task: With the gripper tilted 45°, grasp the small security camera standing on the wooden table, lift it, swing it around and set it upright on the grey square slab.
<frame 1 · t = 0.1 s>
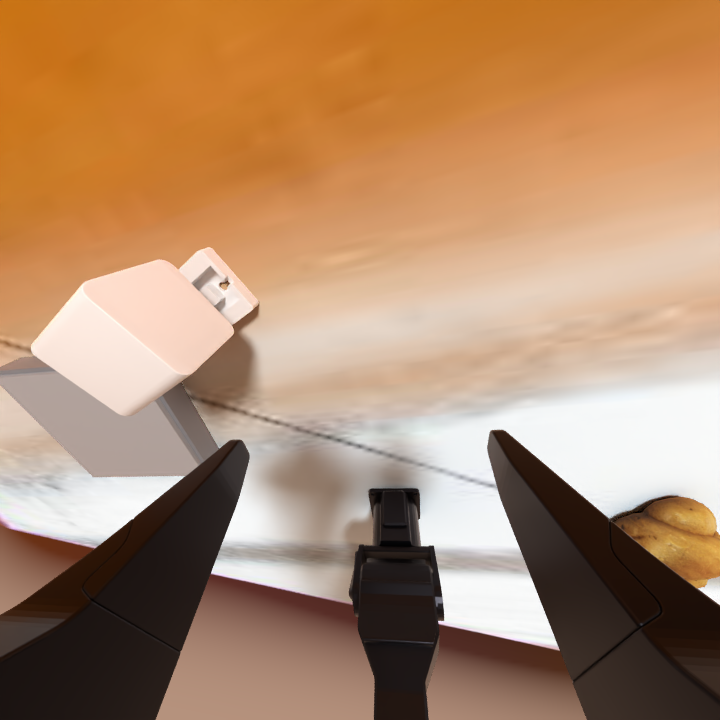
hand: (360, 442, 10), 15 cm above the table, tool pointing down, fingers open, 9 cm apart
bread roll: (645, 516, 35), on the table
grey square slab: (132, 412, 31), on the table
security camera: (210, 297, 23), on the table
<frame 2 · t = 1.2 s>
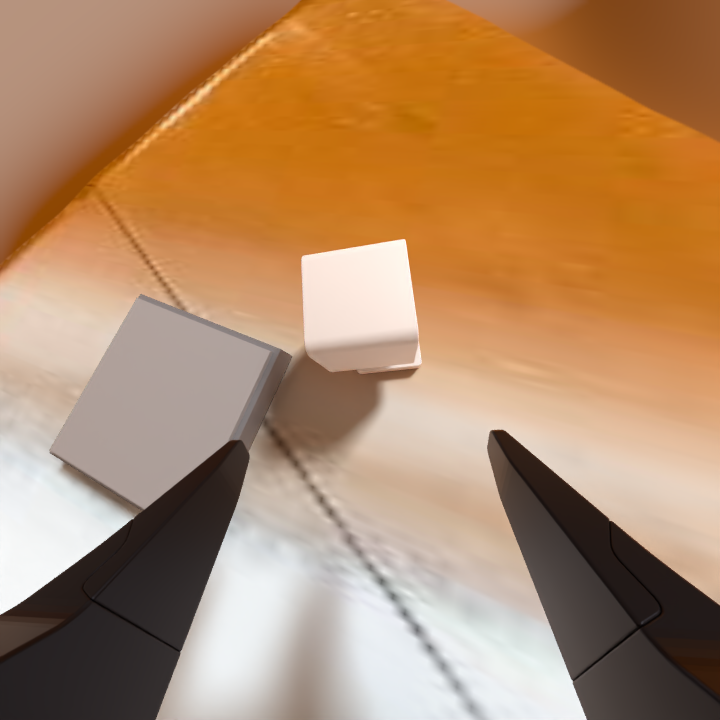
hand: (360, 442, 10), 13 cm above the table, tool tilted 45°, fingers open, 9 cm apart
grey square slab: (184, 403, 26), on the table
security camera: (377, 343, 25), on the table
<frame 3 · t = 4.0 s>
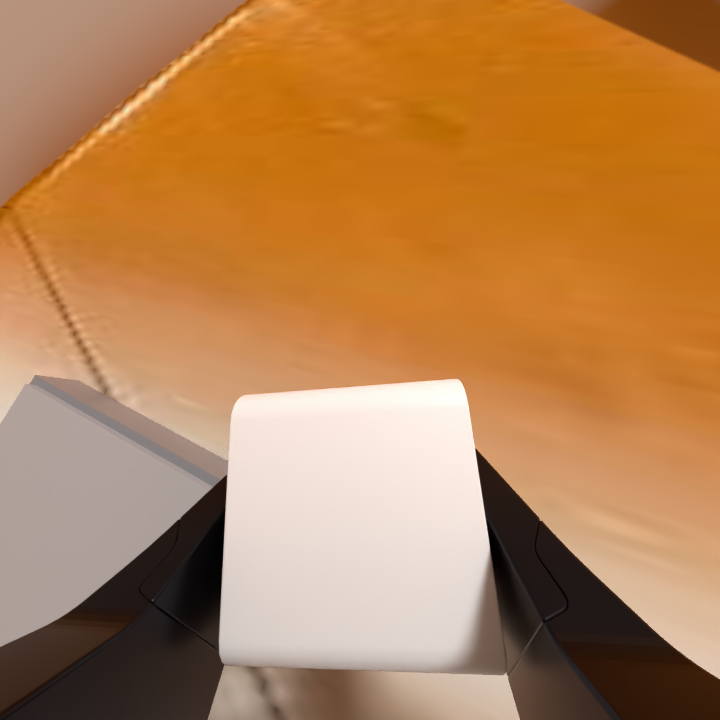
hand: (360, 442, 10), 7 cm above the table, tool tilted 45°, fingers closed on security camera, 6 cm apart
grey square slab: (95, 541, 17), on the table
security camera: (383, 460, 16), on the table, touching gripper
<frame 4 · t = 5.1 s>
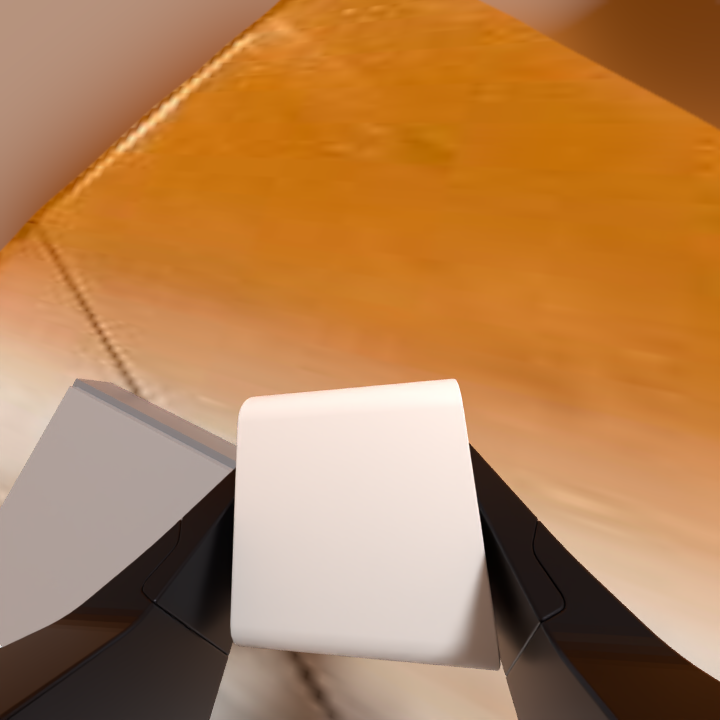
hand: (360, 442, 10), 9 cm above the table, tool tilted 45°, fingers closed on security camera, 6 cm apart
grey square slab: (133, 521, 20), on the table
security camera: (394, 457, 16), point 2 cm above the table, touching gripper
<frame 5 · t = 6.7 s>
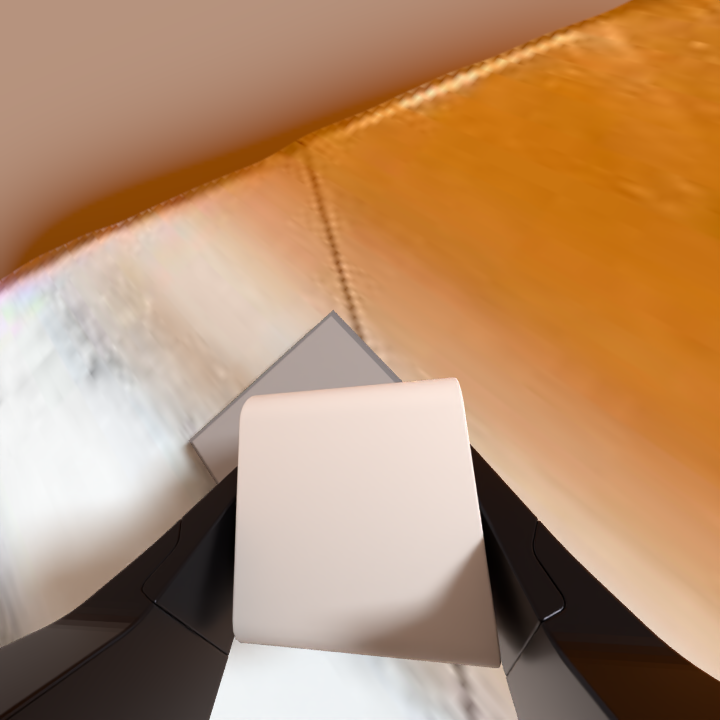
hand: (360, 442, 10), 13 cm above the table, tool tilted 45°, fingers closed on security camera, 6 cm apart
grey square slab: (330, 447, 23), on the table
security camera: (396, 456, 16), point 6 cm above the table, touching gripper
when the fingers open (11 cm above the table, at t = 8.5 s): security camera stays where it is, resting on grey square slab.
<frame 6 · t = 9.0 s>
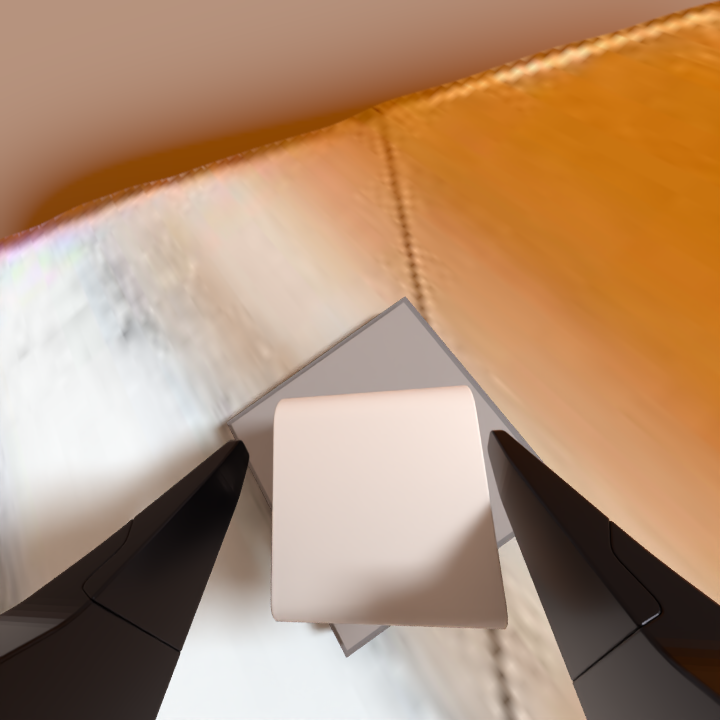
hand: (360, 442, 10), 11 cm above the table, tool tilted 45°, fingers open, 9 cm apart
grey square slab: (381, 450, 20), on the table
security camera: (395, 456, 17), point 3 cm above the table, touching grey square slab
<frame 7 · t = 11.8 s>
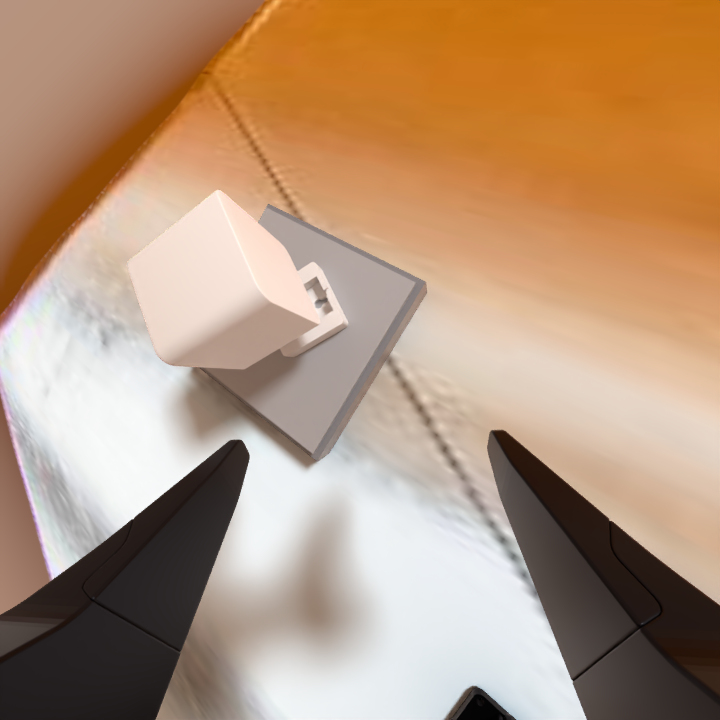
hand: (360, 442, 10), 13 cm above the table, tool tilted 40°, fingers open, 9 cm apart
grey square slab: (305, 329, 25), on the table
security camera: (300, 318, 22), point 3 cm above the table, touching grey square slab
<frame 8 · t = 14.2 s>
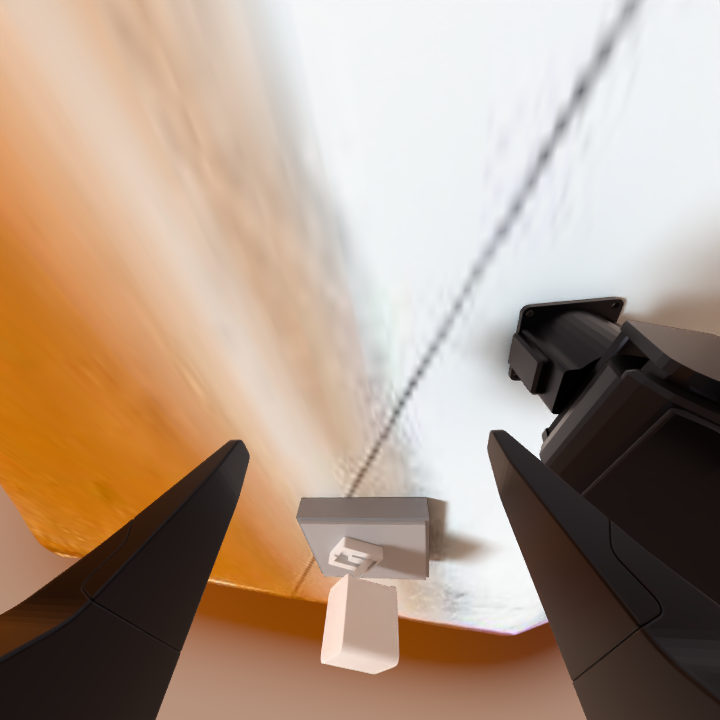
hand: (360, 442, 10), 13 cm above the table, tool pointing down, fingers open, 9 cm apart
grey square slab: (369, 530, 38), on the table
security camera: (361, 550, 36), point 3 cm above the table, touching grey square slab
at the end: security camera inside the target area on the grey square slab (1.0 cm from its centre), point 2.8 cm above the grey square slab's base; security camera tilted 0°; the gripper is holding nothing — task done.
